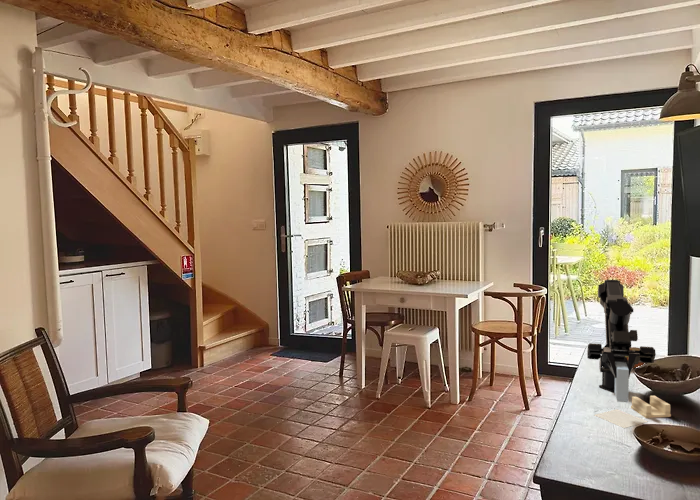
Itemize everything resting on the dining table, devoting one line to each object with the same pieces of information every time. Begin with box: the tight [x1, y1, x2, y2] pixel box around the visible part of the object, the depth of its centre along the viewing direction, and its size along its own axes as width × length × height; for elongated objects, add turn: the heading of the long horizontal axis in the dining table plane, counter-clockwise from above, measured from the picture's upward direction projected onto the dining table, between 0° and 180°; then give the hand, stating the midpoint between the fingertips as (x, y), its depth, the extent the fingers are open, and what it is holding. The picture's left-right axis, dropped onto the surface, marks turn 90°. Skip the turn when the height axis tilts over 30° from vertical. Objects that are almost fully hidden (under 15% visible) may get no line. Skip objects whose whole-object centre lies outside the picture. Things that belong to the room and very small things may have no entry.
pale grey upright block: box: [614, 361, 630, 403], centre depth 165 cm, size 8×3×10 cm, turn 159°
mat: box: [594, 408, 649, 429], centre depth 166 cm, size 11×10×1 cm
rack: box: [630, 395, 672, 419], centre depth 170 cm, size 8×8×4 cm
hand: (622, 377), depth 163 cm, fingers closed on pale grey upright block, 3 cm apart
